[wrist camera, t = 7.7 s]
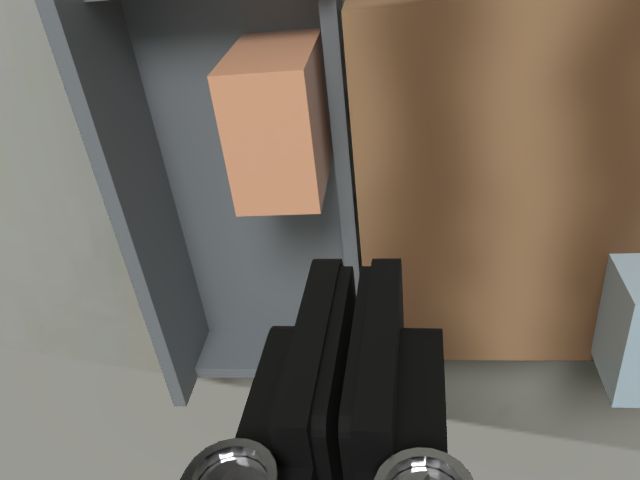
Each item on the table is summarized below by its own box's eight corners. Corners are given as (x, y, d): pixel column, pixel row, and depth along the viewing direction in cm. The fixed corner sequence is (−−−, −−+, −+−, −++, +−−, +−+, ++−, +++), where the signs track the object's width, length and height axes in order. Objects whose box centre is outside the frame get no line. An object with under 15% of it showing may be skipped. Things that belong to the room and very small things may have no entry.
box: (337, -56, 21) (321, -32, 17) (368, 332, 31) (363, 409, 26) (101, -32, 22) (32, -4, 18) (203, 333, 32) (174, 406, 28)
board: (943, -66, 19) (1043, -49, 16) (791, 305, 27) (839, 361, 24) (349, -12, 22) (341, 11, 19) (372, 309, 30) (369, 359, 27)
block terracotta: (303, 69, 18) (206, 76, 18) (320, 213, 21) (236, 216, 21) (321, 27, 22) (242, 33, 22) (334, 152, 25) (263, 155, 25)
